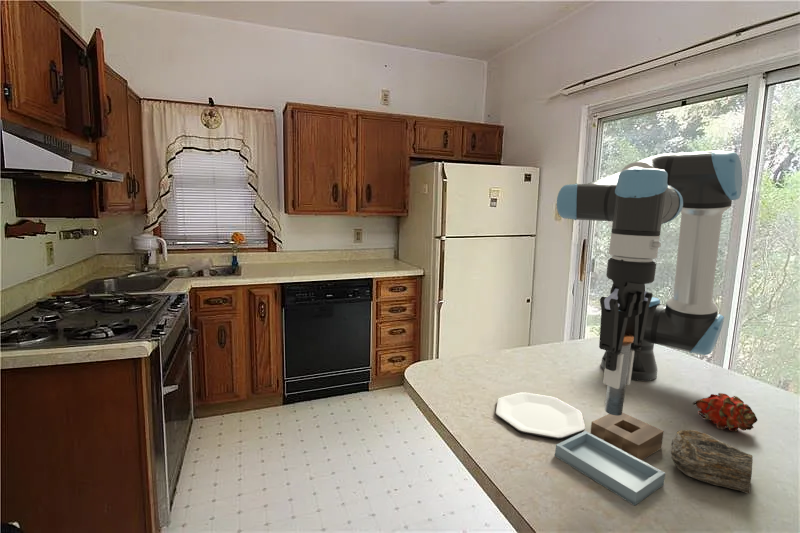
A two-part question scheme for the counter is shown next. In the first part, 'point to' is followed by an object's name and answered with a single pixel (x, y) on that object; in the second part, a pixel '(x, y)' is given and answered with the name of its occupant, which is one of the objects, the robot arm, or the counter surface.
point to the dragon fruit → (726, 412)
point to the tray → (610, 466)
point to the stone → (712, 460)
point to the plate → (540, 415)
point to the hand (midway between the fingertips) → (616, 383)
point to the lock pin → (617, 395)
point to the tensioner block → (628, 434)
